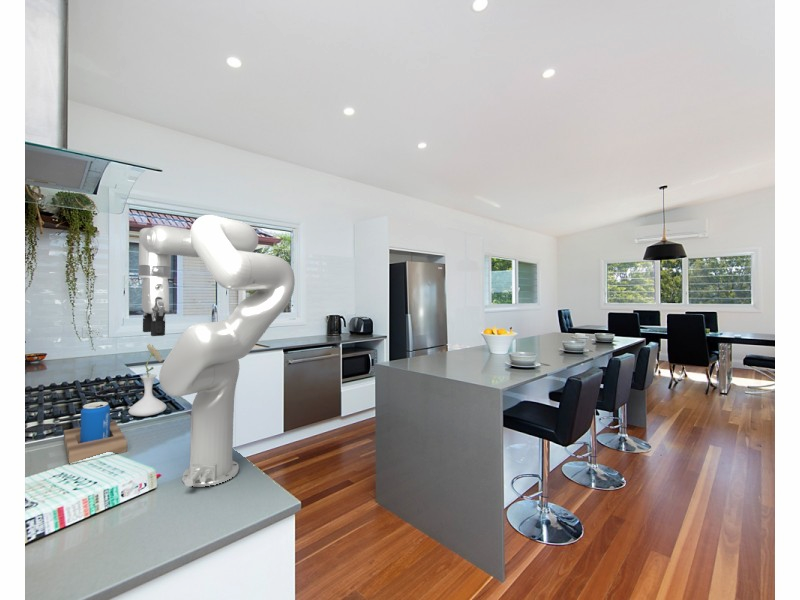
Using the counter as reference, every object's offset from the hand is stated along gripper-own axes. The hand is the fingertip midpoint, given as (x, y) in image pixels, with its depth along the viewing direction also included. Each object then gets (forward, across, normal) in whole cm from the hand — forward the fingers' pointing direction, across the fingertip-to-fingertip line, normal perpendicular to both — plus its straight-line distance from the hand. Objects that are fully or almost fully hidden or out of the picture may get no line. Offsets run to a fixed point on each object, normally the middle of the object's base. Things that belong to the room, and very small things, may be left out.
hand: (153, 333), depth 103 cm
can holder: (+33, +13, +11) cm, 38 cm away
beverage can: (+34, +13, +11) cm, 38 cm away
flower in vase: (+34, +35, -6) cm, 49 cm away
